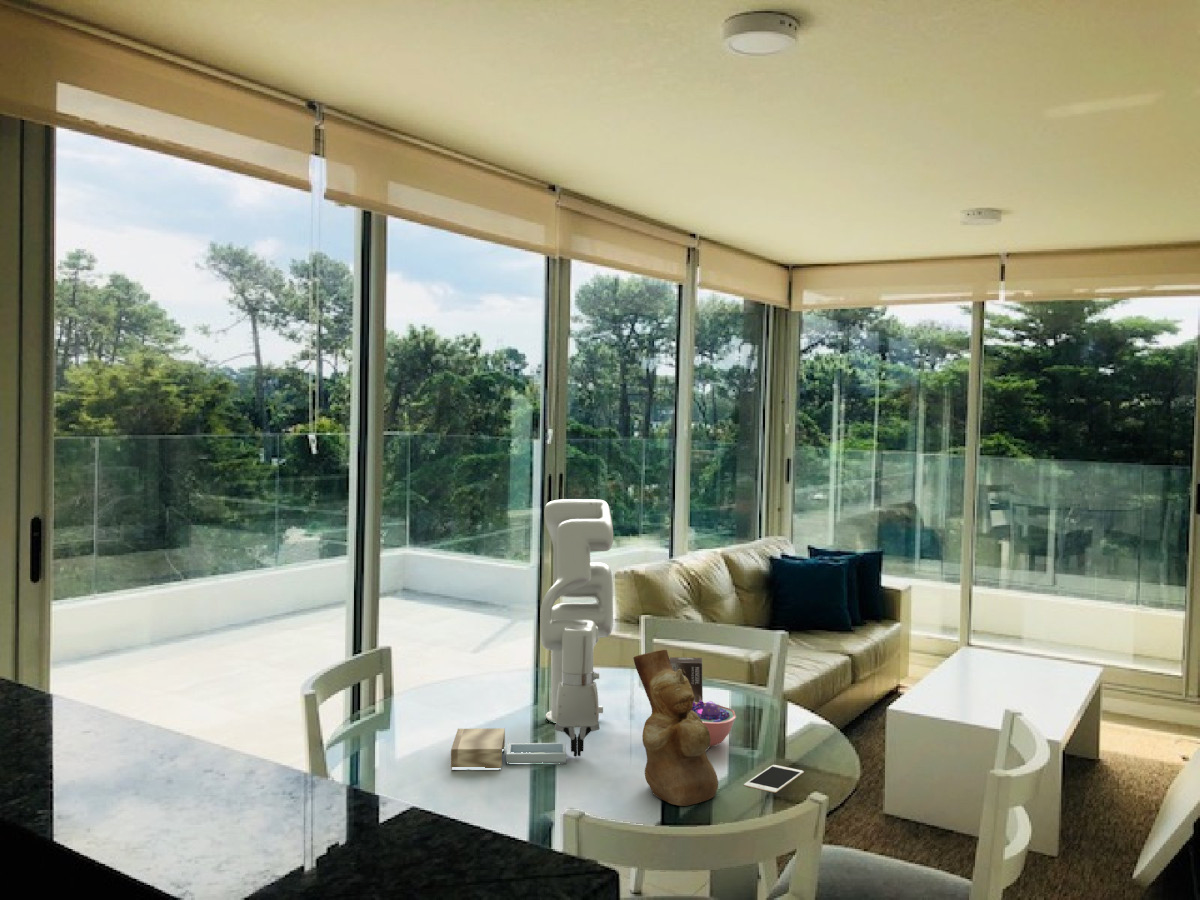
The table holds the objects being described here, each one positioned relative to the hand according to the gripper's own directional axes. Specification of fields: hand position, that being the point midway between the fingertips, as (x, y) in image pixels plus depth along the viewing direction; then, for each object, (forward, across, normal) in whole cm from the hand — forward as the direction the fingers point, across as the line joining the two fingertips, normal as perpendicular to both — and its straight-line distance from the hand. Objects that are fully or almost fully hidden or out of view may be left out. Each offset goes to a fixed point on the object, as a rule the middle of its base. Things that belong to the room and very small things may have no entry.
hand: (577, 754), depth 235 cm
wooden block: (+1, +23, 0) cm, 23 cm away
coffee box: (+1, -31, -32) cm, 44 cm away
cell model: (+1, -30, -10) cm, 32 cm away
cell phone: (+2, -44, +15) cm, 47 cm away
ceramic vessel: (+1, -20, +21) cm, 29 cm away
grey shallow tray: (+1, +10, 0) cm, 10 cm away
